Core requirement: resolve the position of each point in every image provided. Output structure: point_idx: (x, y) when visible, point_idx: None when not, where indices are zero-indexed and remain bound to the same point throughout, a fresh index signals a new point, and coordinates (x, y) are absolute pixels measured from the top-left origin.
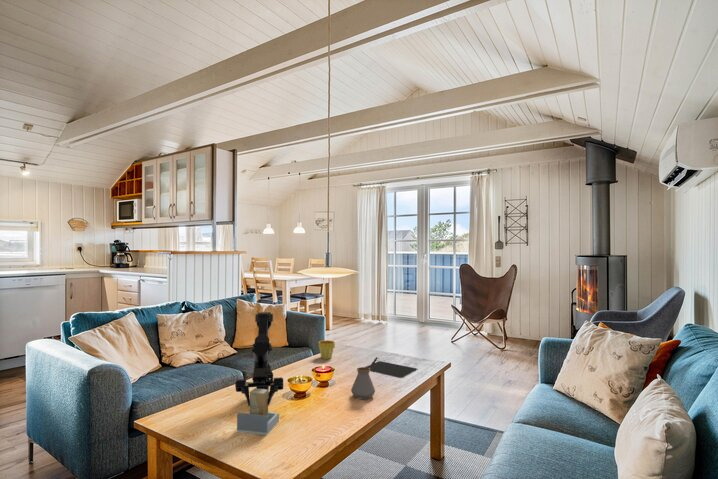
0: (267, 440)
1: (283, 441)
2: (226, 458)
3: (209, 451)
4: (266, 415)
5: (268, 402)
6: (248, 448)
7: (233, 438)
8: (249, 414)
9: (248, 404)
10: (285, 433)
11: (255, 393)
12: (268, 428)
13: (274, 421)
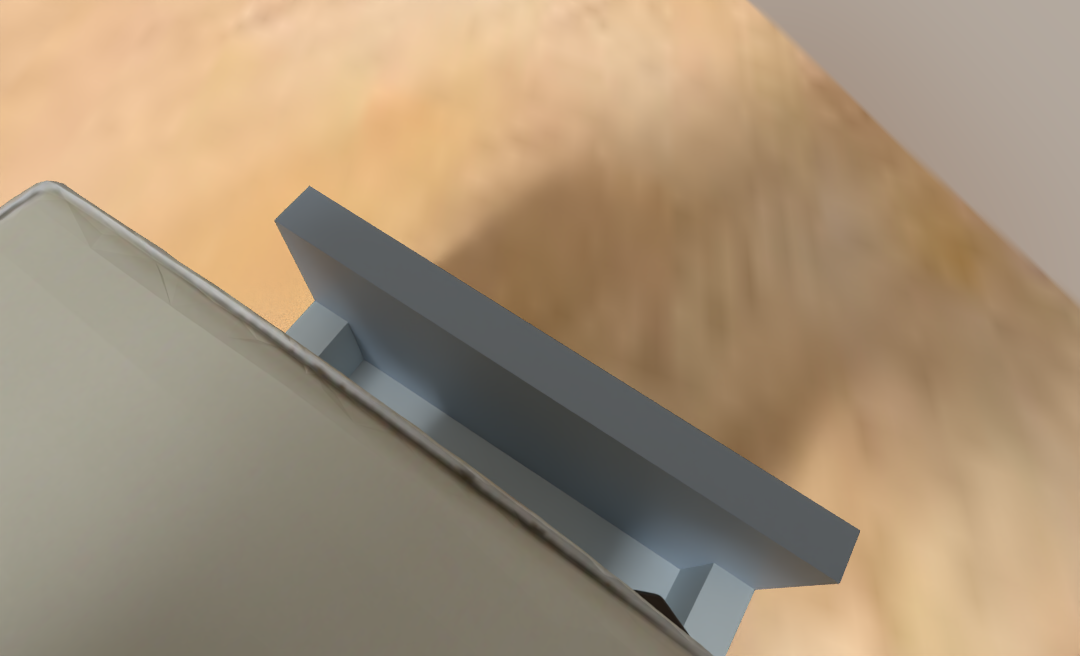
0: (381, 217)
1: (226, 140)
2: (781, 68)
3: (950, 219)
4: (295, 232)
5: None
6: (594, 142)
7: (749, 396)
8: (607, 394)
9: (662, 607)
10: None
11: (453, 467)
12: None
13: None
